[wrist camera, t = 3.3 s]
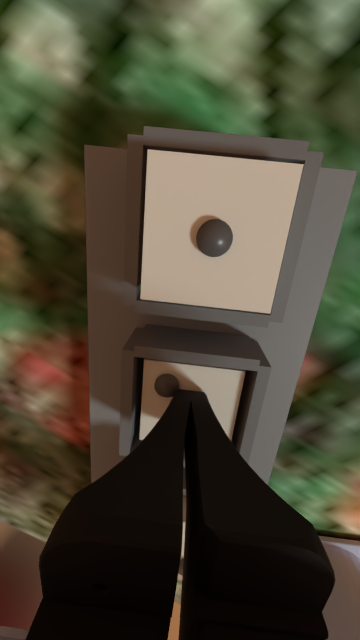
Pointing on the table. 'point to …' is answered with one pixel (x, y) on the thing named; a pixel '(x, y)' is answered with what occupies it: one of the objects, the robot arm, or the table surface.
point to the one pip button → (215, 229)
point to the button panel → (191, 320)
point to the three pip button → (173, 375)
